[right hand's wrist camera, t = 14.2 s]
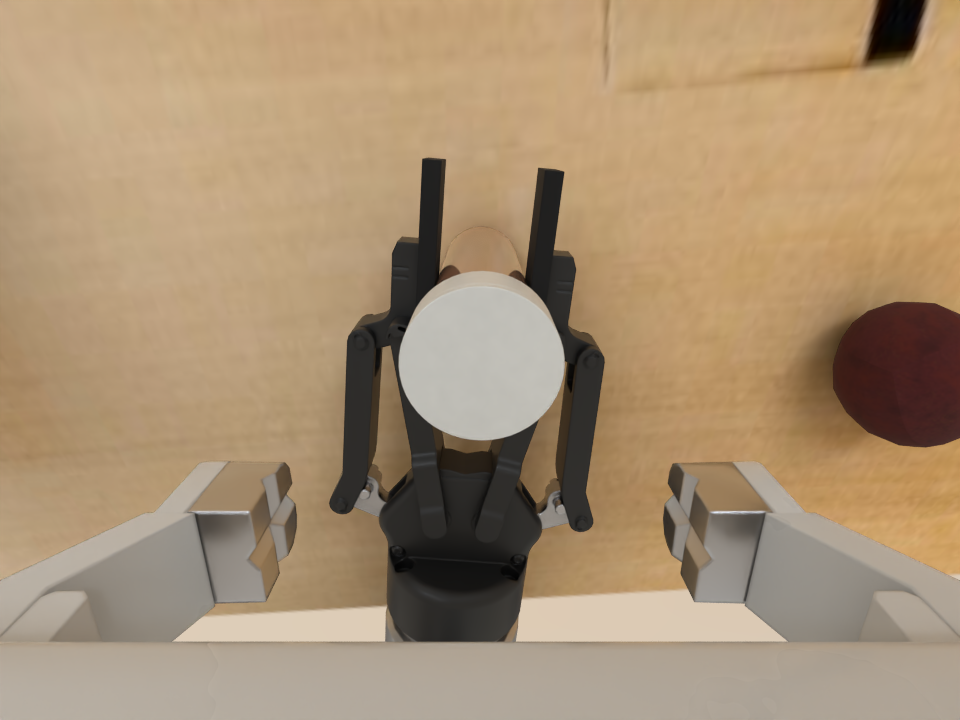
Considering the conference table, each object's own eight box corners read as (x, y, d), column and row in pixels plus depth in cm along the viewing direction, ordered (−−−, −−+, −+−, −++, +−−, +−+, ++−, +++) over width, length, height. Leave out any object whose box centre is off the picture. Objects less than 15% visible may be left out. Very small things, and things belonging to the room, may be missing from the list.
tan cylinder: (493, 310, 32) (503, 443, 17) (432, 275, 31) (390, 383, 17) (530, 250, 30) (575, 340, 16) (468, 212, 30) (456, 270, 15)
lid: (505, 433, 19) (508, 466, 17) (381, 367, 18) (369, 394, 16) (584, 319, 18) (597, 340, 16) (454, 241, 17) (450, 253, 15)
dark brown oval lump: (830, 427, 34) (913, 494, 28) (785, 328, 32) (865, 374, 25) (949, 370, 33) (1066, 425, 26) (911, 261, 30) (1030, 291, 24)
